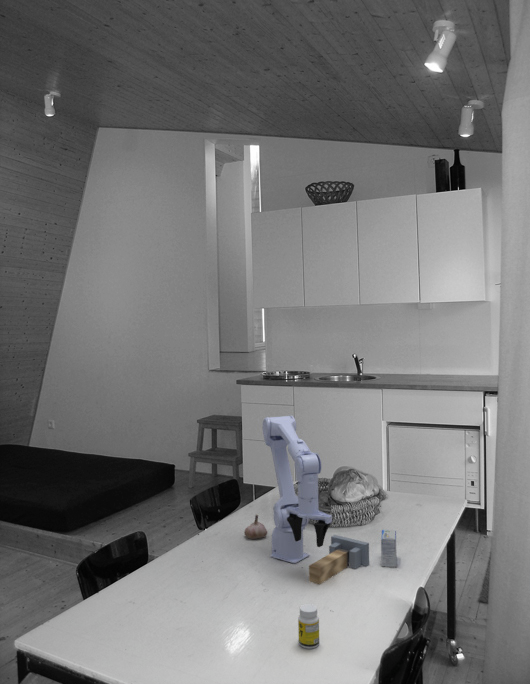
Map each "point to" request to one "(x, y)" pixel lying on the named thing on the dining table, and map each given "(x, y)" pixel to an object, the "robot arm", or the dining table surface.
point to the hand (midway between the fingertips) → (308, 543)
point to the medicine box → (388, 548)
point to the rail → (328, 566)
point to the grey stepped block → (351, 550)
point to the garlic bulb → (255, 530)
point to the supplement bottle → (308, 626)
